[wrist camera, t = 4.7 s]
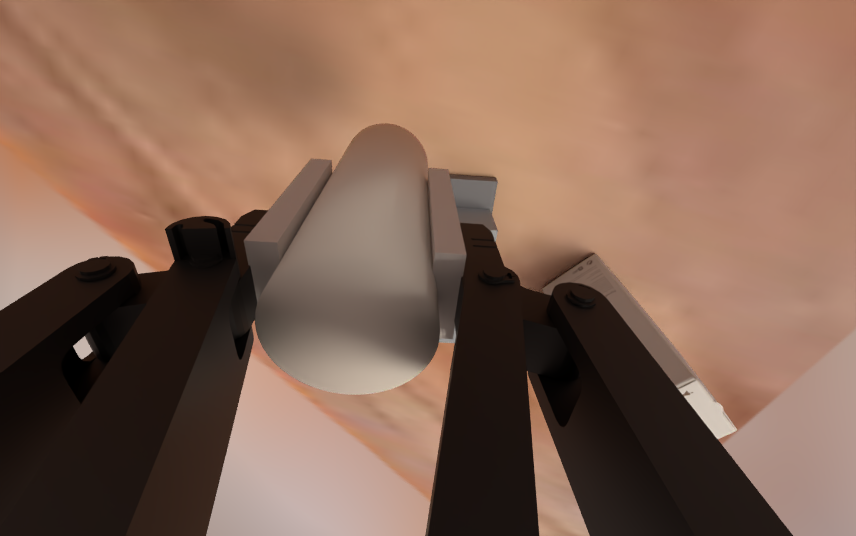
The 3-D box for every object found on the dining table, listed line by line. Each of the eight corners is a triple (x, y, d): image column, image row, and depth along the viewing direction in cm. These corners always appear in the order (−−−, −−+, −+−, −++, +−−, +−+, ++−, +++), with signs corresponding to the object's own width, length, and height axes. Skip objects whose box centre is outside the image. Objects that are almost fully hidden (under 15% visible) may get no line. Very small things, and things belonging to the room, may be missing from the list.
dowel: (344, 119, 17) (239, 248, 7) (431, 127, 18) (449, 262, 7) (346, 202, 19) (268, 391, 9) (424, 207, 20) (431, 397, 10)
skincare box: (539, 286, 39) (601, 421, 25) (598, 248, 36) (698, 375, 23) (581, 331, 42) (654, 471, 29) (637, 299, 40) (744, 435, 27)
